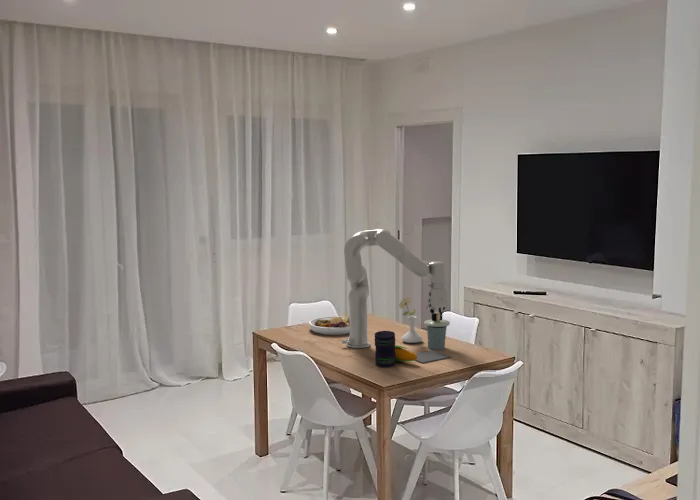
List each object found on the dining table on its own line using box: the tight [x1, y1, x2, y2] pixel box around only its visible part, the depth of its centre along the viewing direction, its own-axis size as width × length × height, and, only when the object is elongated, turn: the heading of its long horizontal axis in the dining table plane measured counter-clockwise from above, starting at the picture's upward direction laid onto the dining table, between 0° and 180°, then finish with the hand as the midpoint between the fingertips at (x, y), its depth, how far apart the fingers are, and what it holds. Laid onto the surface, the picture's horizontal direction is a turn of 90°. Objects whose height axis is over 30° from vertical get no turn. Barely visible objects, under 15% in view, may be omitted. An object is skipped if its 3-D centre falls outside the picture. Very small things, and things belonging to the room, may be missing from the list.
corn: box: [395, 344, 418, 363], centre depth 320 cm, size 7×8×20 cm
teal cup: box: [426, 325, 448, 351], centre depth 344 cm, size 10×10×12 cm
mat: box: [414, 349, 452, 364], centre depth 328 cm, size 18×14×1 cm
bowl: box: [308, 315, 349, 336], centre depth 386 cm, size 30×30×8 cm
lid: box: [424, 311, 451, 327], centre depth 343 cm, size 13×13×6 cm
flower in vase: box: [398, 296, 423, 344], centre depth 356 cm, size 13×11×25 cm
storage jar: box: [374, 330, 397, 369], centre depth 314 cm, size 10×10×15 cm
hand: (436, 320), depth 343 cm, fingers closed on lid, 3 cm apart
